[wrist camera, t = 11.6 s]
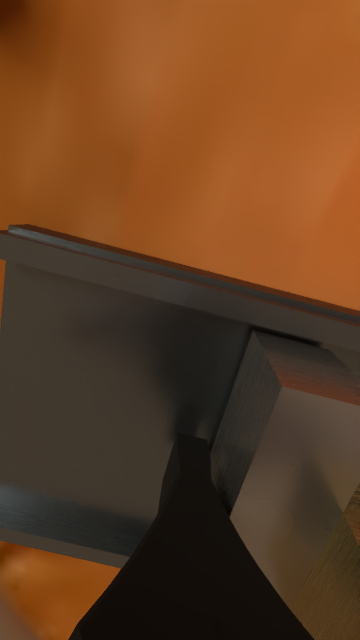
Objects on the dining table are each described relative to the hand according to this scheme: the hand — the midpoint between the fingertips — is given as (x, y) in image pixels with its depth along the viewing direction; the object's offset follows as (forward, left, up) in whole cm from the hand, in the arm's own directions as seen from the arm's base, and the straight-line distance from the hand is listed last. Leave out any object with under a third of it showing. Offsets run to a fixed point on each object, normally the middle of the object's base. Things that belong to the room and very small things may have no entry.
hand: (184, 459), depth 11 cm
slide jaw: (-2, 0, -1) cm, 2 cm away
